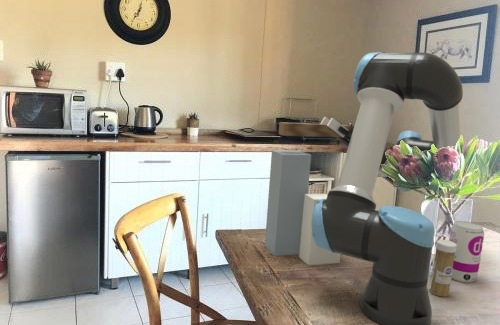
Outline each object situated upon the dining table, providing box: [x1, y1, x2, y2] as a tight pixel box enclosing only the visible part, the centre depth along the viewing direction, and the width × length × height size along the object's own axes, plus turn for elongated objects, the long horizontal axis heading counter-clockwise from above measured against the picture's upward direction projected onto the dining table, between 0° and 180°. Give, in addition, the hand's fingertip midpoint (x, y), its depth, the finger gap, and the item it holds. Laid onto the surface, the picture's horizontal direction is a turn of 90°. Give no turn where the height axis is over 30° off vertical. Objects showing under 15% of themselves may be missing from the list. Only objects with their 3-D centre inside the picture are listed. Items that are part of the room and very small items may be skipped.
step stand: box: [264, 149, 341, 266], centre depth 124 cm, size 17×16×30 cm
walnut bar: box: [278, 121, 352, 138], centre depth 125 cm, size 22×4×4 cm, turn 109°
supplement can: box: [448, 220, 485, 283], centre depth 116 cm, size 8×8×15 cm
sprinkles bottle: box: [429, 239, 457, 298], centre depth 106 cm, size 5×5×13 cm
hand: (326, 121), depth 126 cm, fingers closed on walnut bar, 3 cm apart
